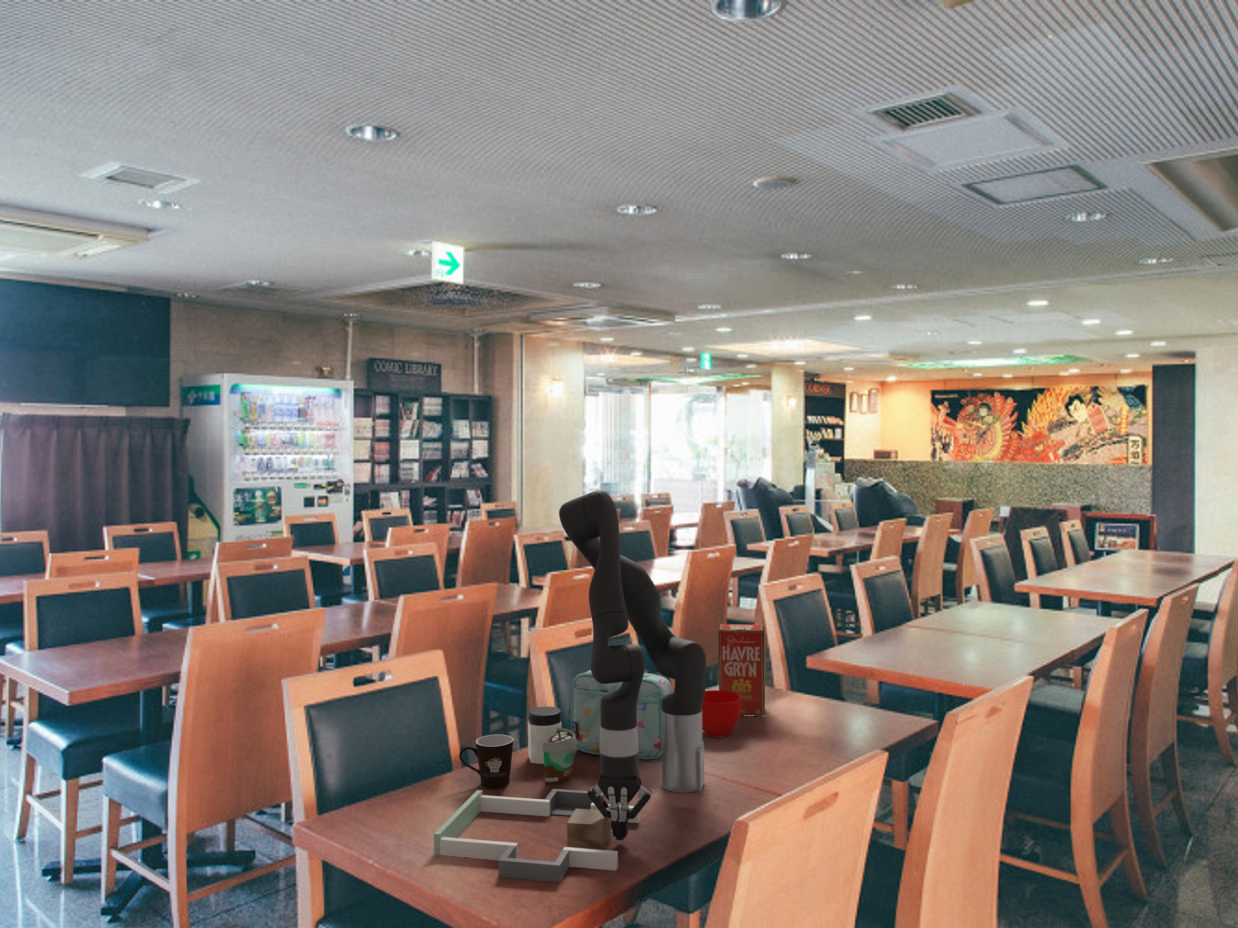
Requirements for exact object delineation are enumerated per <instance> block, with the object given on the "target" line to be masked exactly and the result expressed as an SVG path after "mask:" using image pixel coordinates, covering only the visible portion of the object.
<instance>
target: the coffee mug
mask: <svg viewBox="0 0 1238 928" xmlns="http://www.w3.org/2000/svg"><path fill="white" fill-rule="evenodd" d="M513 748H514V738H513V737H512V736H510V735H506V734H487V735H484V736H481V737H478V738H476V739H475V747H472V746H465V747H462V749H461V750H460V751H459V756H458V757H459V759H460V762H461V763H462V764H464V765H465V767H467V768H469V769H471V770H472V771H474V772H476V773H477V774H478V775H479V779H480V785H481V787H482V788H485V789H488V790H489V789H490V790H497V789H503V788H506V787H508V786H509V784H510V777H511V771H512V770H511V769H512V768H511V767H512V760H513V759H512V757H513ZM467 750H470V751H473V753H474V754H475V756H476V757H477V762H478V763H477V764H478V769H477V768H476V767H474V766H472V765H470V764H469V763H467V761H465V760H464V759H463V756H462V755H463V752H464V751H467Z"/></svg>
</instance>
